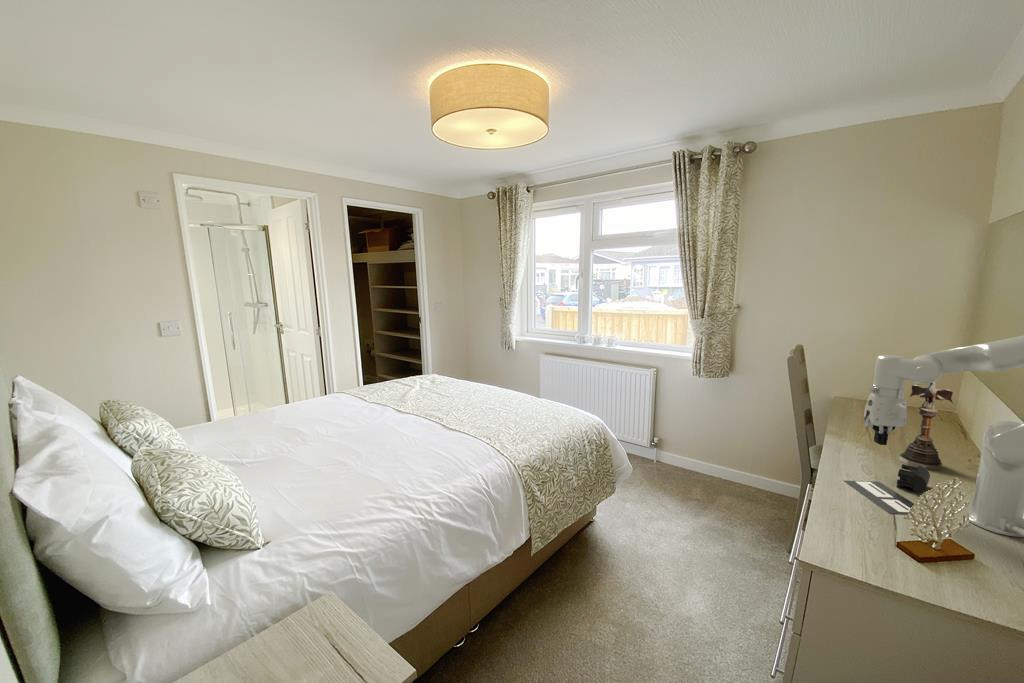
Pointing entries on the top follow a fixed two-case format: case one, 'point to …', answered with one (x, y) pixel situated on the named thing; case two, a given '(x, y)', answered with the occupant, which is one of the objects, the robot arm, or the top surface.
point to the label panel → (878, 499)
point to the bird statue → (925, 429)
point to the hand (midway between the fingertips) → (880, 443)
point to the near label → (897, 505)
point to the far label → (874, 489)
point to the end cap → (913, 478)
